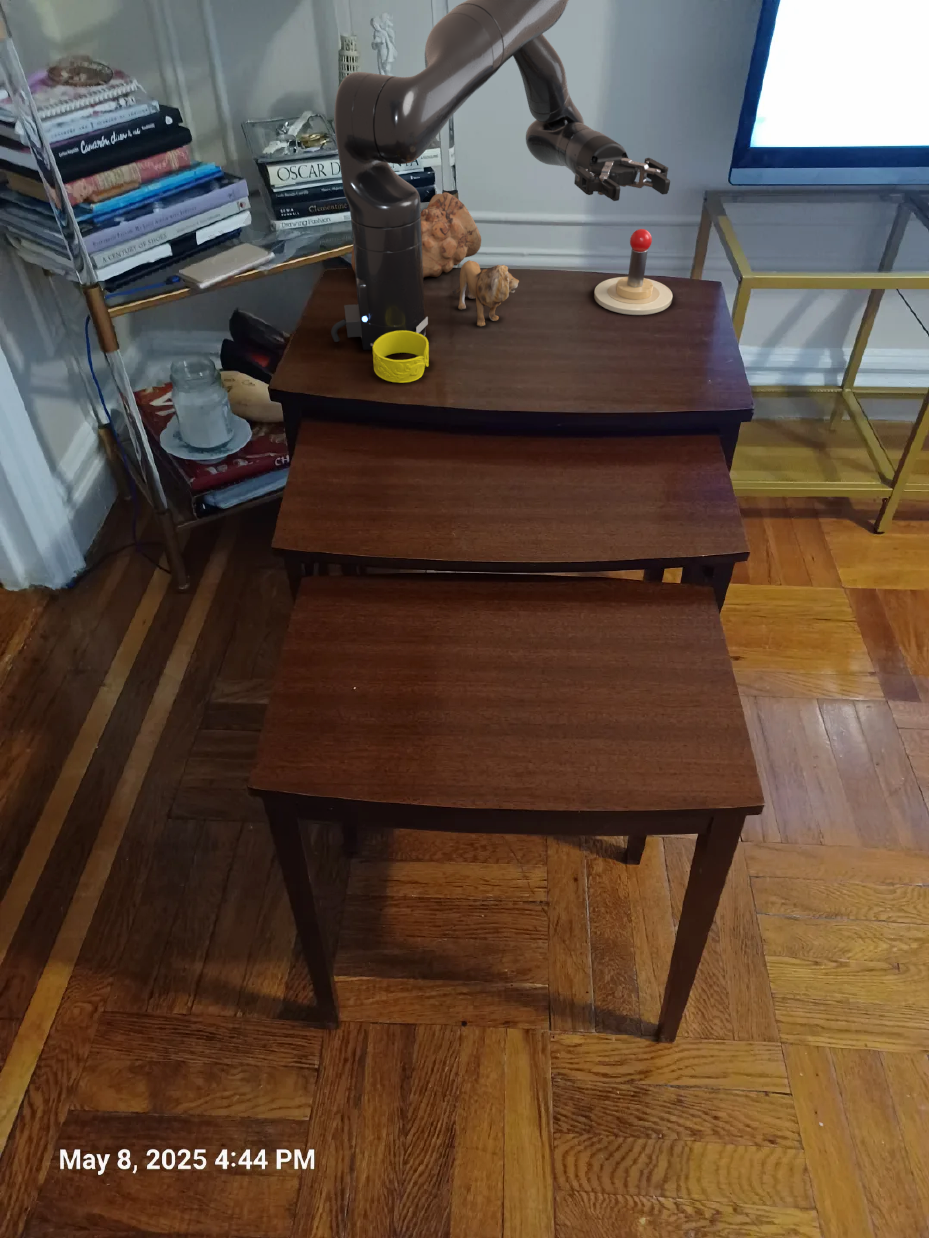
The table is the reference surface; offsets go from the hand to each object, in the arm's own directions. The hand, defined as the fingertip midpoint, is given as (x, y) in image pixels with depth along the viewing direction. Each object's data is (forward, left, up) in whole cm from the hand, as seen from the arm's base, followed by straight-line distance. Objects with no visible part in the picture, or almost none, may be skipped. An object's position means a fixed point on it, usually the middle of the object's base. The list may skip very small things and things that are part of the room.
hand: (642, 191), depth 137 cm
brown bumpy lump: (-38, -1, -12) cm, 40 cm away
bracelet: (-41, -28, -13) cm, 51 cm away
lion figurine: (-27, -13, -12) cm, 32 cm away
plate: (-3, -11, -12) cm, 16 cm away
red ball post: (-3, -11, -11) cm, 16 cm away
